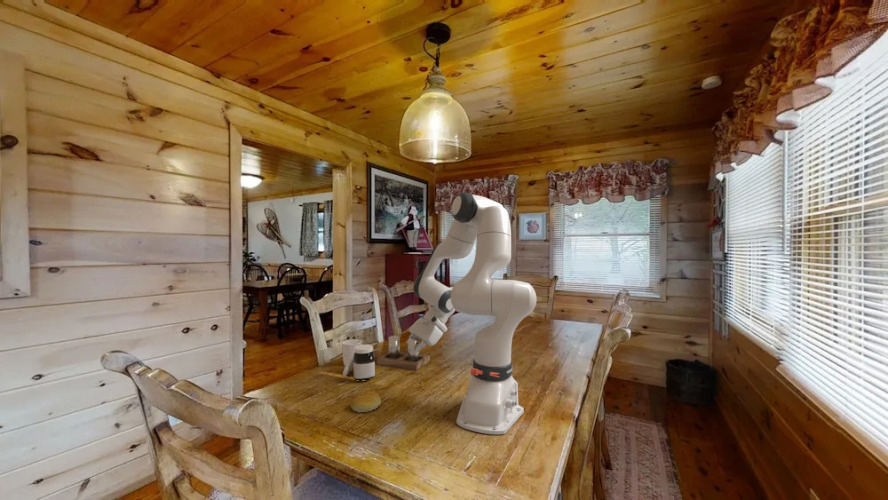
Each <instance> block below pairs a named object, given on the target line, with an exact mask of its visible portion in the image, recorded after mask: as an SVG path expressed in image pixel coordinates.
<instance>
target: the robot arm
mask: <svg viewBox="0 0 888 500" xmlns="http://www.w3.org/2000/svg"><path fill="white" fill-rule="evenodd" d="M452 201H453V202H452V204H451V211H450V212H451V216H452V218H453V220H452V223H451V225H450V227H449V229H448V232H447V235H446V237H445V238H444V239H443V241H440V242H438V243H437V244H436V245H435V247H433V249H432V252H431V253H430V255H429V256H428V259H427V261H426V263H425V265H424V266H423V268H422V270H421V272H420V274H418V276H417V277H416V279H415V281H414V282H413V289H412V290H413V293H414V295H415V296H416V297H418V298H420V299H421V300H423V301H424V302H426V303H428V304H429V305H431V307H429V309H428V310H427V312H426V313H425V314H424V315H423V316H422V317H421V318H418V319H417V320H416V321H415V322H414V323H413V324H412V325H411V326H410V327H409V329H408V332H410V333H411V334H409V337H408V339H409V338H418V339H419V341H420V342H419V345H417V346H416V347H415V350H416V351H418V352H419V353H420V351H421V350H422V349H423V348H425V347H426V346H427V345H429V346H430V347H433V346H434V345H436V344H437V343H438V342H439V340H440V339H441V338H442V337H443V334H445V333H446V332H447V331H448V328H447V326H446V323H447V321H448V319H449V318H450V317H451V316H452V315H453V314H454V313H455V312H458V313H461V314H465V315H469V316H483V317H484V316H485V317H486V316H489V317H490V316H491V317H494V318H495V320H494V321H493V322H492V323H491V324H488V325H487V326H484V327H482V328H481V329H479V330H478V331H477V332H476V334H475V335H474V340H473V341H474V345H473V346H474V352H473V353H474V354H473V355H474V357H473V361H472V364H471V365H472V366H471V369H470V375H469V383H468V386H467V390H466V392H465V396H464V397H463V399H462V402H461V405H460V408H459V411H458V414H457V417H456V422H455V424H457V425H458V426H459V427H461V428H463V429H465V430H468V431H472V432H476V433H481V434H487V435H504V434H506V433H507V432H509V430H510V429H511V428H512V427H513V425H514V424H516V422H517V421H518V420H519V419H520V417H521V416H522V415H523V414H524V413H525V411H524V407H523V406H522V405H519V393H518V392H519V391H518V390H519V389H518V388H519V387H518V382H517V381H516V380H515V378H514V377H513V369H514V367H513V366H514V365H513V361H512V344H513V343H512V342H513V337H514V334H515V332H516V331H515V330H516V328H517V327H518V325H519V324H520V323H521V321H523V320H525V318H526V317H528V316H529V315H530V314H532V312H533V311H534V310H535V308H536V305H537V301H538V300H537V294H536V290H535V289H534V287H533V286H532V285H531V283H529V282H525V281H522V280H521V281H520V280H516V279H492V276H493V275H494V274H495V273H496V272H498V271H500V270H502V269H505V268H506V267H508V265H509V264H510V263H511V260H512V229H511V228H512V227H511V219H512V215H511V214H512V213H511V209H510V208H509V207H508V206H507V205H505V204H503V203H501V202H498V201H495V200H492V199H490V198H488V197H485V196H482V195H477V194H472V193H470V192H459V194H457V195H456V196H455V198H454V199H453V200H452ZM475 243H476V244H475ZM474 246H476V247H475V256H474V259H473V264H472V265H471V268H470V269H469V271H468V272H467V273H466V274H465V276H463V277H461V279H459V280H458V281H456V283H455V284H454V285H453V286H450V287H449V286H446V285H445V284H443V283H441V281H438V280H437V279H435V274H436V272H437V271H438V269H439V267H440V264H441V263H442V261H443V260H445V259H446V260H447V259H448V260H450V259H451V260H462V259H464V258H467V257H468V256H469V255H471V253H472V251H473V248H474ZM408 339H407V340H406V342H405V343H406V345H408Z"/></svg>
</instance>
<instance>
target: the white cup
mask: <svg viewBox="0 0 888 500" xmlns="http://www.w3.org/2000/svg"><path fill="white" fill-rule="evenodd" d="M358 345H363V341H362V340H361V339H359V338H358V339H356V338H355V339H353V338H352V339H351V338H350V339H346V340H343V341H341V347H342V348H341V349H342V361H343V365H344V367H345V366H346V364H347V362H348V360H349V359H350V358H351V359H353V355H354V353H355V352H354V348H355V347H356V346H358Z"/></svg>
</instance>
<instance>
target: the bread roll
mask: <svg viewBox="0 0 888 500" xmlns="http://www.w3.org/2000/svg"><path fill="white" fill-rule="evenodd" d="M381 404H382V398H381V397H380V395H379V394H378V393H377V392H374V391H370V390H367V391H363V392H362V393H360V394H359V395H358V396H357V397H355V398H353V399H352V401H351V402H350V407H351V408H350V409H352V410H353V411H354V412H355V411H358V412H366V411H371V412H373V411H372V410H374V409H375V410H377V409H378V408H379V407H380V405H381ZM378 406H379V407H378ZM376 408H377V409H376ZM375 410H374V411H375Z"/></svg>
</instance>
